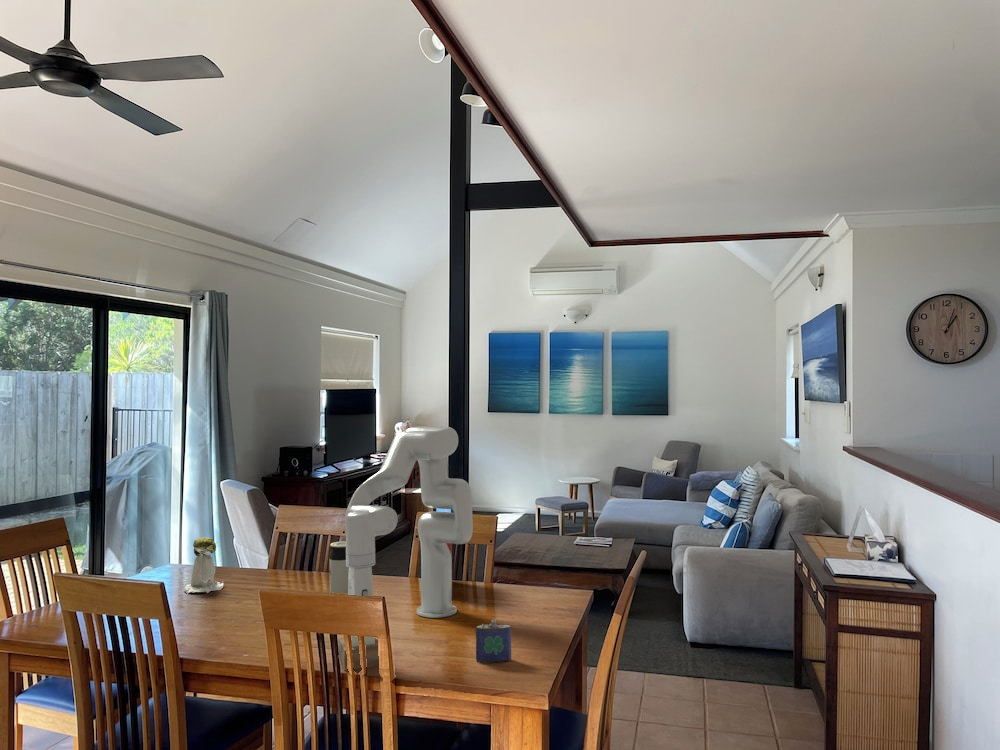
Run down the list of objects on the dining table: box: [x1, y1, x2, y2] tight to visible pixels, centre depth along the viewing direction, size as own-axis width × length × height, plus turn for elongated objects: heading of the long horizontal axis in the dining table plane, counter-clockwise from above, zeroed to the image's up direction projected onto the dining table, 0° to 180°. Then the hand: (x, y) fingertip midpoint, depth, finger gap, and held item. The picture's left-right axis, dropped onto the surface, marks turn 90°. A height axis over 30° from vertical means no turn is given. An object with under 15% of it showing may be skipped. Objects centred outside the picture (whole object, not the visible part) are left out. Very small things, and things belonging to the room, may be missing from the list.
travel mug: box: [329, 540, 349, 593], centre depth 254 cm, size 8×8×18 cm
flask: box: [475, 618, 512, 664], centre depth 193 cm, size 9×3×11 cm, turn 95°
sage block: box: [351, 636, 375, 647], centre depth 193 cm, size 6×6×6 cm
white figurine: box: [183, 536, 224, 595], centre depth 264 cm, size 12×13×18 cm
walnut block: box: [337, 637, 380, 671], centre depth 193 cm, size 10×10×5 cm
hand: (361, 624), depth 194 cm, fingers open, 9 cm apart
